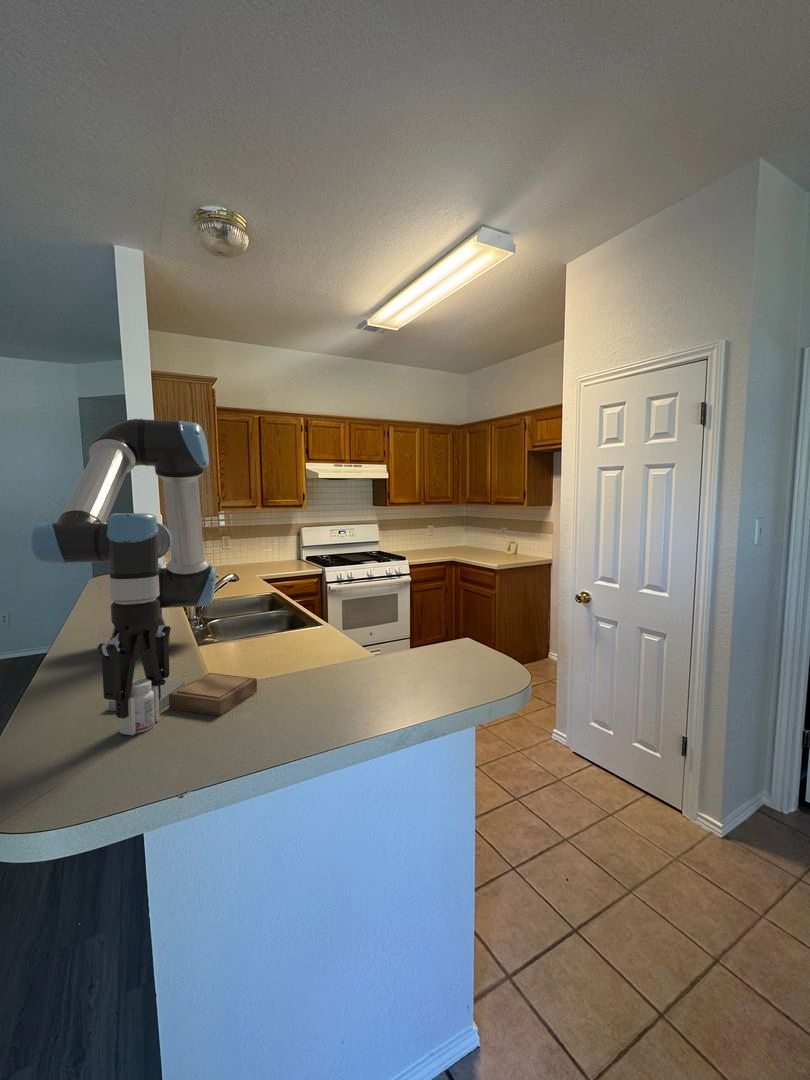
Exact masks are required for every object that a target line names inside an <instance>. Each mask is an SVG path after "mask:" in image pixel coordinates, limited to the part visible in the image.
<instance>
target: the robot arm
mask: <svg viewBox="0 0 810 1080" xmlns="http://www.w3.org/2000/svg"><path fill="white" fill-rule="evenodd" d="M88 454H89V455H88V456H89V460H88V463H87V465H86V467H85V468H84V471H82V472H83V473H82V475H81V476H80V478H79V480H78V482H77V484H76V485H75V488H74V489H73V491H72V493H71V495H70V497H69V498H68V501H67V503H66V505H65V507H64V508H63V510H62V513H61V514H60V516H59V517H58V520H57V521H56V522H53V521H50V522H45V523H44V522H41V523H39V524H37V525H36V526H35V527H34V528H33V531H32V534H31V539H30V540H31V541H30V542H31V543H30V545H31V549H32V552H33V555H34V557H35V559H37V560H38V561H40V562H42V563H53V564H54V563H59V564H70V563H71V564H72V563H73V564H74V563H95V562H96V563H97V562H98V563H100V562H102V563H103V562H108V564H109V565H108V566H109V567H108V569H109V590H110V592H109V594H110V600H111V601H113V602H112V603H111V604H110V618H111V619H110V622H111V624H113V629H112V633H111V637H110V638H109V640H108V641H107V642H105V643H104V642H103V643H99V645H98V646H97V649H98V652H99V654H100V656H101V669H102V670H101V671H102V687H103V689H102V690H103V699H104V700H108V701H109V700H115V701H116V711H115V715H116V718H118V720H119V721H118V722H119V734H122V735H128V736H134V735H136V734H137V733H136V726H135V699H134V697H130V694H131V688H132V681H134V674H135V668H136V661H137V660H138V659H139V656H140V659H141V664H142V669H143V671H144V676H145V679H149V680H151V690H152V691H153V692H154V709H155V723H156V722H158V721H160V720H161V719H160V711H159V700H160V698H161V690H160V685H164V684H165V682H167V681H166V679H168V677H170V648H169V647H170V644H169V643H170V641H171V640H170V634H171V626H169V625H166V622H165V620H164V618H163V609H168V608H169V609H170V608H187V607H188V608H190V607H195V608H197V607H202V606H209V605H211V604H212V602H213V600H214V595H215V588H216V579H217V567H216V566H213V565H211V561H210V559H209V558H208V557H206V556H205V553H204V552H205V550H204V539H203V537H204V536H203V526H202V513H201V512H202V511H201V502H200V486H199V479H200V478H201V477H202V476H203V475H204V469H205V468H208V467H209V464H210V457H209V456H210V455H209V448H208V443H207V439H206V435H205V432H204V430H203V428H202V426H201V425H200V424H198V423H197V422H190V421H183V420H165V419H143V418H133V419H132V418H131V419H127V420H123V421H121V422H118V423H116V424H114V425H112V426H110V427H108V428H107V429H105V430H104V431H103V432H101V434H99V435H98V436H97V437H96V438H95V440H93V442H92V444H91V446H90V448H89V451H88ZM136 466H147V467H149V466H151V467H154V472H155V475H156V476H157V477H158V478H160V479H161V480H162V484H163V485H162V486H163V495H164V503H165V504H164V505H165V513H166V521H167V523H166V524H167V527H166V526H164V524H161V523H159V522H157V520H158V519H157V517H156V515H155V514H154V513H147V512H146V513H144V512H142V513H131V512H129V513H111V511H112V508H113V506H114V503H115V501H116V499H117V497H118V494H119V492H120V489H121V488H122V485H123V482H124V480H125V478H126V475H127V474H128V473H130V472H131V471H132V470H133V469H134V468H135V467H136ZM110 513H111V514H110ZM169 550H170V560H169V561H168V562H167V563H166V565H165V567H162V565H161V563H159V559H161V558H163V557H164V556H165V555H166V554H168V551H169Z"/></svg>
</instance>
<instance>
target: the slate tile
mask: <svg viewBox="0 0 810 1080" xmlns="http://www.w3.org/2000/svg"><path fill="white" fill-rule="evenodd" d="M185 685H186V684H185V681H166V682H165V684H164V685H160V690H161V698H160V700H159V712H161V711H162V710H163V709H164V708H166V707H167V706H169V693H171V692H173V691H175V690H177V689H179V688H181V687H183V686H185ZM108 710H109V712H111V711H112V712H116V701H115V700H108Z"/></svg>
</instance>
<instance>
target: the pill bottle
mask: <svg viewBox="0 0 810 1080" xmlns="http://www.w3.org/2000/svg"><path fill="white" fill-rule="evenodd" d="M130 697H134V699H135V726H136V734H140V733H145V732H147V731H149V730H150V729H151V730H152V728H154V727H155V725H156V724H155V723H156V722H155V709H154V692H153V691H152V690H151V680H149V679H146V678H141V679H140V678H139V679H135V680H134V679H133V681H132V688H131V694H130Z"/></svg>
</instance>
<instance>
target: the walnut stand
mask: <svg viewBox="0 0 810 1080" xmlns="http://www.w3.org/2000/svg"><path fill="white" fill-rule="evenodd" d="M256 691H257V692H258V680H257V677H256V678H255V677H249V676H239V675H230V674H222V673H214V672H209V673H207V674H205V675H204V676H201V677H199V678H197V679H195V680H193V681H191V682H189V683H187V684H185V686H183V687H181V688H179V689H177V690H175V691H173V692H171V693H169V704H168V708H169V709H170V710H177V709H178V711H183V710H184V711H185V712H190V711H192V713H197V712H198V714H204V715H210V716H211V715H212V716H216V717H217V716H218V717H222V716H223V715H225V714H226V713H227V712H229V711H231V710H232V709H234V708H236V707H237V706H238V705H239V703H240V704H241V703H243V702H244V701H246V700H247V699H248V697H249V698H250V697H251V695H252V694H253V693H255V692H256ZM257 692H256V693H257ZM256 693H255V694H256ZM253 695H254V694H253ZM253 695H252V696H253ZM245 699H246V700H245ZM242 701H243V702H242Z"/></svg>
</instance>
